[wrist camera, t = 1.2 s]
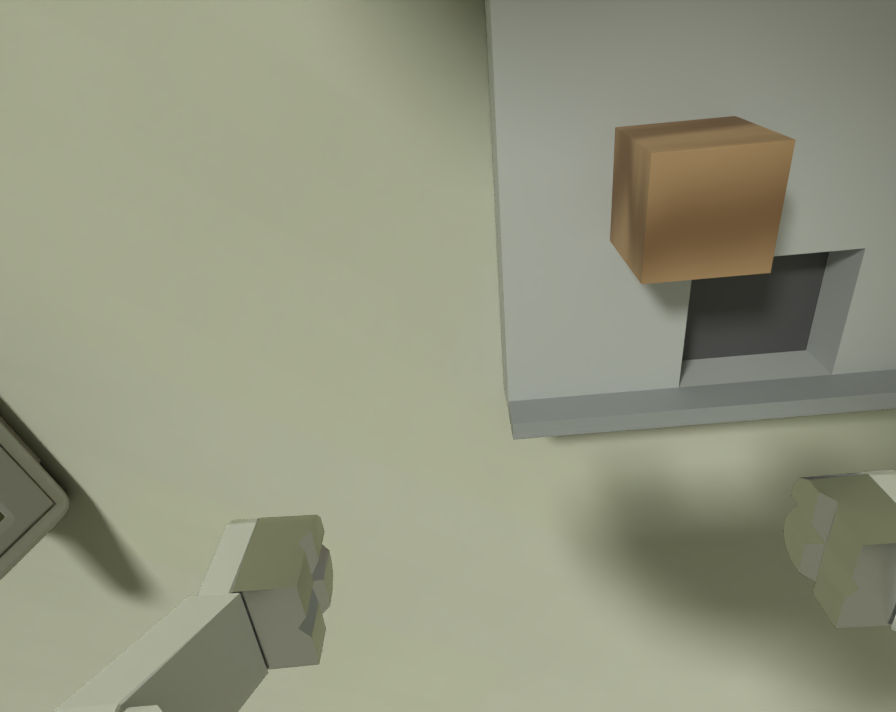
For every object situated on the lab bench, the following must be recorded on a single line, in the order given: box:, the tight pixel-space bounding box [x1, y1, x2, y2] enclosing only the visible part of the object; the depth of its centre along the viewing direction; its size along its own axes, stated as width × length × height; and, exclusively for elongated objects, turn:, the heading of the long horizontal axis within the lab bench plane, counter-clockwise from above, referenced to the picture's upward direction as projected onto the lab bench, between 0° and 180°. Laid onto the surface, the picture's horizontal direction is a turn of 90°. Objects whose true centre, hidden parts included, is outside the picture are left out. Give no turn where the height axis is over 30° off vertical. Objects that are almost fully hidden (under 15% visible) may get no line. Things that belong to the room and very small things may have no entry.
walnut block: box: [610, 116, 796, 284], centre depth 25 cm, size 5×5×5 cm
